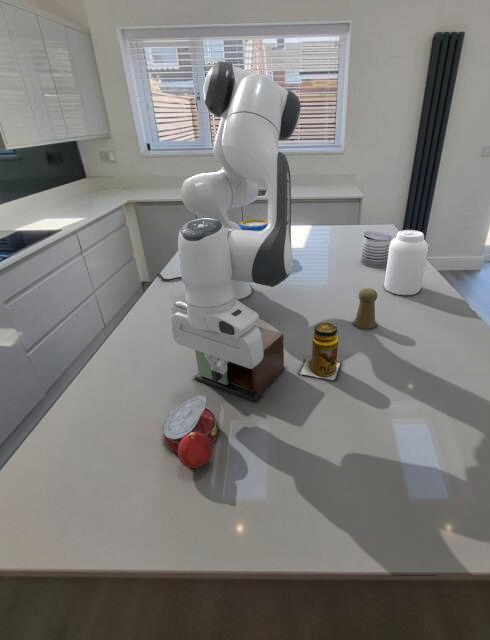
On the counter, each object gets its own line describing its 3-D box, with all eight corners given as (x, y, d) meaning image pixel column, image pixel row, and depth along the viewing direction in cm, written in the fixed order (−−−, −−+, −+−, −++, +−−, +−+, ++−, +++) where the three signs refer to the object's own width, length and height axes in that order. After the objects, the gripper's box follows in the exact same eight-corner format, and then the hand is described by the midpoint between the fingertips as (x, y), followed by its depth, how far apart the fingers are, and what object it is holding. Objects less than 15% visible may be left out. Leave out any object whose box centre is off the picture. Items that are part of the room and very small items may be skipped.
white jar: (381, 293, 129) (388, 235, 119) (386, 280, 139) (394, 226, 129) (418, 298, 125) (429, 239, 115) (421, 284, 135) (432, 229, 125)
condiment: (334, 380, 87) (337, 336, 81) (299, 374, 89) (300, 331, 83) (340, 363, 93) (343, 321, 87) (307, 358, 95) (308, 316, 89)
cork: (375, 329, 107) (379, 295, 102) (353, 328, 108) (357, 293, 103) (375, 320, 112) (379, 286, 107) (355, 318, 114) (358, 284, 108)
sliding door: (193, 379, 86) (187, 347, 82) (201, 373, 88) (196, 341, 84) (220, 390, 83) (216, 357, 78) (228, 383, 85) (224, 350, 80)
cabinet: (195, 379, 88) (188, 343, 83) (230, 351, 99) (226, 317, 93) (254, 401, 81) (252, 364, 76) (285, 369, 91) (285, 333, 86)
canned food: (201, 469, 71) (179, 456, 63) (164, 444, 75) (139, 429, 67) (234, 419, 76) (218, 400, 67) (197, 398, 80) (177, 378, 71)
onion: (184, 453, 69) (177, 421, 65) (215, 450, 69) (210, 419, 65) (179, 479, 64) (171, 446, 60) (212, 476, 64) (207, 444, 60)
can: (368, 256, 162) (371, 228, 156) (393, 261, 157) (397, 232, 150) (356, 263, 155) (358, 235, 148) (381, 269, 149) (385, 239, 143)
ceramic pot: (275, 264, 156) (274, 227, 148) (233, 264, 156) (230, 228, 148) (277, 250, 171) (276, 217, 163) (238, 251, 171) (236, 217, 163)
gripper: (158, 305, 71) (171, 364, 79) (246, 331, 63) (251, 395, 70) (181, 293, 76) (191, 350, 83) (266, 316, 67) (269, 377, 75)
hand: (219, 370), depth 77 cm, fingers closed
